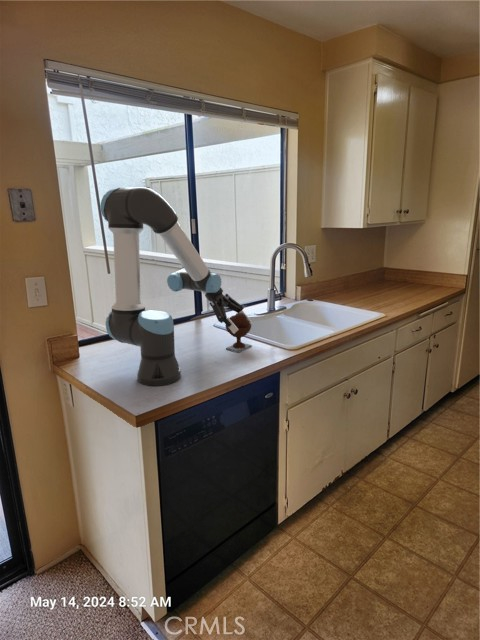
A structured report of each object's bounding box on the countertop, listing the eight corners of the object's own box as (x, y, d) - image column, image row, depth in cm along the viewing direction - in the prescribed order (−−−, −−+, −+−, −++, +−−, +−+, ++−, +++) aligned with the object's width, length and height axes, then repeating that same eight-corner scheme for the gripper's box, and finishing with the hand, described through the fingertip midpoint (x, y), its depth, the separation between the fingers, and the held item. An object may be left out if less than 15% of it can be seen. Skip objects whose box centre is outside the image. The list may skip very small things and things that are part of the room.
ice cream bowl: (253, 342, 180) (253, 309, 175) (247, 351, 169) (247, 316, 165) (230, 340, 182) (229, 308, 178) (223, 349, 172) (222, 315, 168)
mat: (238, 352, 170) (238, 350, 170) (226, 349, 174) (225, 347, 174) (251, 346, 177) (251, 344, 177) (239, 343, 181) (239, 342, 181)
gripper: (219, 290, 187) (249, 325, 185) (190, 301, 165) (224, 341, 163) (229, 279, 184) (260, 315, 182) (201, 289, 162) (236, 329, 160)
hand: (243, 327), depth 172 cm, fingers open, 13 cm apart
